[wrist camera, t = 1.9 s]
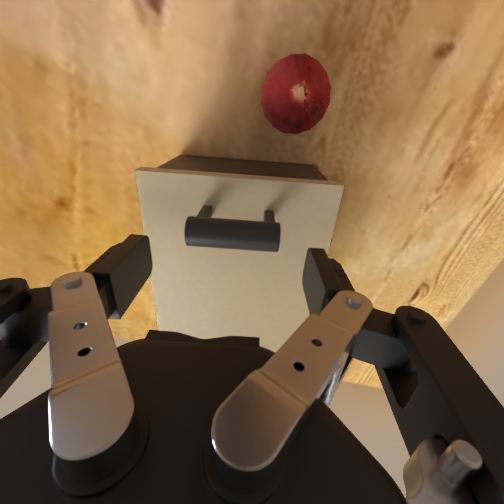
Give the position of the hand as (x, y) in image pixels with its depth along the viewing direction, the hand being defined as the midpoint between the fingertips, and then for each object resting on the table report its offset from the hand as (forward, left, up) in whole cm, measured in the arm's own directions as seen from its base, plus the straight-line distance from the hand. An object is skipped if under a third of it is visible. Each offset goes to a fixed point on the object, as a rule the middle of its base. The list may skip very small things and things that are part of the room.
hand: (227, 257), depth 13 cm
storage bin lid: (+4, +6, -8) cm, 10 cm away
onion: (-8, -4, -18) cm, 20 cm away
